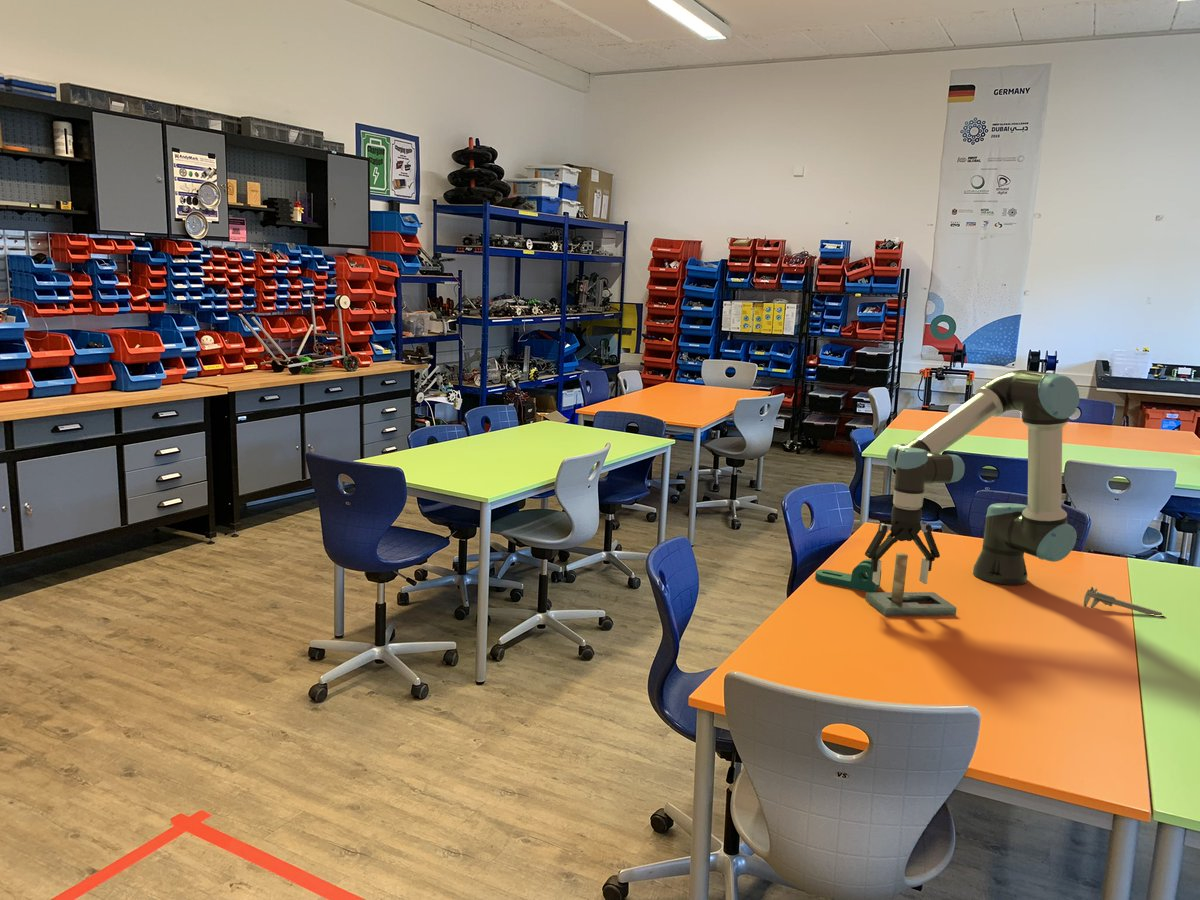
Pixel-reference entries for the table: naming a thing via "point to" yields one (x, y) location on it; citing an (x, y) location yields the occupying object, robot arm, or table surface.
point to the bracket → (851, 577)
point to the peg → (899, 578)
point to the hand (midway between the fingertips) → (899, 582)
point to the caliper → (1114, 602)
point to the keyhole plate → (911, 604)
